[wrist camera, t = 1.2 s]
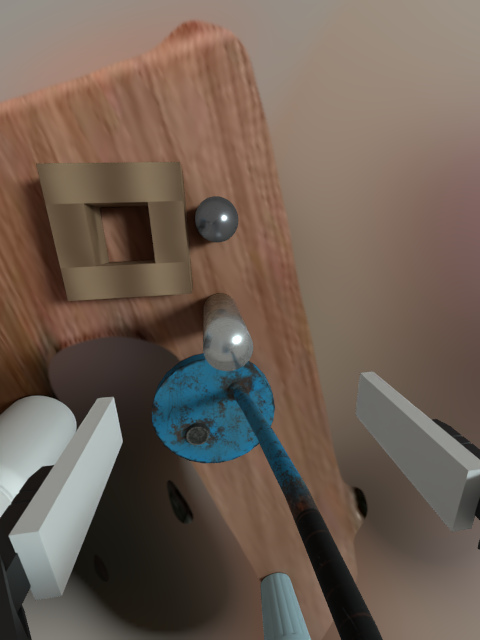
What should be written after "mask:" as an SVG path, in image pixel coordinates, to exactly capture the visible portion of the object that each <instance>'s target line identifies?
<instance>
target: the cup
mask: <svg viewBox="0 0 480 640" xmlns="http://www.w3.org/2000/svg"><path fill="white" fill-rule="evenodd" d="M261 599H262V613H263V627H264V640H311V639H310V636H309V633H308V630H307V627H306V624H305V621H304V618H303V615H302V612H301V610H300V607H299V604H298V601H297V598H296V595H295V592H294V589H293V586H292V583H291V581H290V578H289V577H288V576H287V575H286V574H284V573H274V574H271V575H269V576H267V577H265V578H264V579H263V581H262V582H261Z"/></svg>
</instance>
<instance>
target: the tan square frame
mask: <svg viewBox="0 0 480 640" xmlns="http://www.w3.org/2000/svg"><path fill="white" fill-rule="evenodd" d="M36 166H37V170H38V174H39V179H40V183H41V187H42V191H43V196H44V200H45V204H46V209H47V213H48V217H49V222H50V226H51V230H52V234H53V239H54V243H55V247H56V252H57V256H58V260H59V264H60V269H61V273H62V277H63V282H64V286H65V290H66V295H67V299H68V301H76V300H93V299H109V298H126V297H142V296H159V295H175V294H191V293H192V288H193V282H192V270H191V259H190V248H189V237H188V225H187V214H186V203H185V192H184V181H183V171H182V168H181V165H180V162H144V163H47V164H36ZM127 206H148V208H149V216H150V224H151V232H152V240H153V247H154V255H155V260H146V261H124V262H109V258H108V252H107V247H106V241H105V235H104V230H103V224H102V218H101V213H100V207H127Z"/></svg>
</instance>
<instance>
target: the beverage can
mask: <svg viewBox="0 0 480 640" xmlns="http://www.w3.org/2000/svg"><path fill="white" fill-rule="evenodd" d="M75 432H76V420H75V417H74V415H73V413H72V412H71V410H70V409H69V408H68V407H67V406H66V405H65V404H63V403H62V402H60V401H58V400H56V399H54V398H51V397H46V396H29V397H25V398H22V399H20V400H18V401H16V402H15V403H13V404H12V405H11V406H10V407H9V408H8V409H6V410H5V411H4V412H3V413H2V414H1V415H0V517H1V516H2V514H3V513H4V512H5V510H6V509H7V507H8V506H9V505H11V502H12V500H13V499H14V498H15V496H16V495H17V494H19V491H20V489H21V488H22V487H23V485H24V484H25V482H26V481H27V480H28V478H29V477H31V476H32V475H33V474H34V473H35V472H36V471H38V470H39V469H40V468H41V467H42V466H51V465H55V463H56V462H57V460H58V459H59V457H60V456H61V454H62V453H63V451H64V450H65V448H66V446H67V445H68V443H69V442H70V440H71V439H72V437H73V436H74V434H75Z"/></svg>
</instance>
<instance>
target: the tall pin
mask: <svg viewBox="0 0 480 640" xmlns="http://www.w3.org/2000/svg"><path fill="white" fill-rule="evenodd" d="M203 352H204V356H205V359H206V360H207V362H208V363H209V364H210V365H211V366H212V367H214V368H216V369H218V370H221V371H233V370H237V369H239V368H241V367H242V366H244V365H245V364H246V363H247V362H248V361H249V359H250V357H251V355H252V352H253V342H252V339H251V337H250V335H249V332H248V330H247V328H246V326H245V323H244V321H243V319H242V317H241V315H240V312H239V310H238V308H237V306H236V303H235V301H234V300H233V299H232V298H231V297H230V296H229V295H227V294H224V293H217V294H214V295H212V296H210V297H209V298H208V299H207V300H206V302H205V304H204V308H203Z"/></svg>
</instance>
